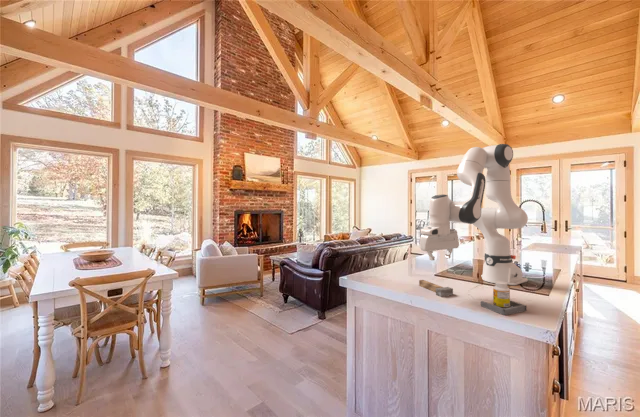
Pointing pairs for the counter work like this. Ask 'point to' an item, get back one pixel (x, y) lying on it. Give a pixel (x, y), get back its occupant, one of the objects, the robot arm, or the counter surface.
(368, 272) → the counter surface
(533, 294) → the counter surface
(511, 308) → the frame
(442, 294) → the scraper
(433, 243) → the robot arm
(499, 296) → the supplement bottle
